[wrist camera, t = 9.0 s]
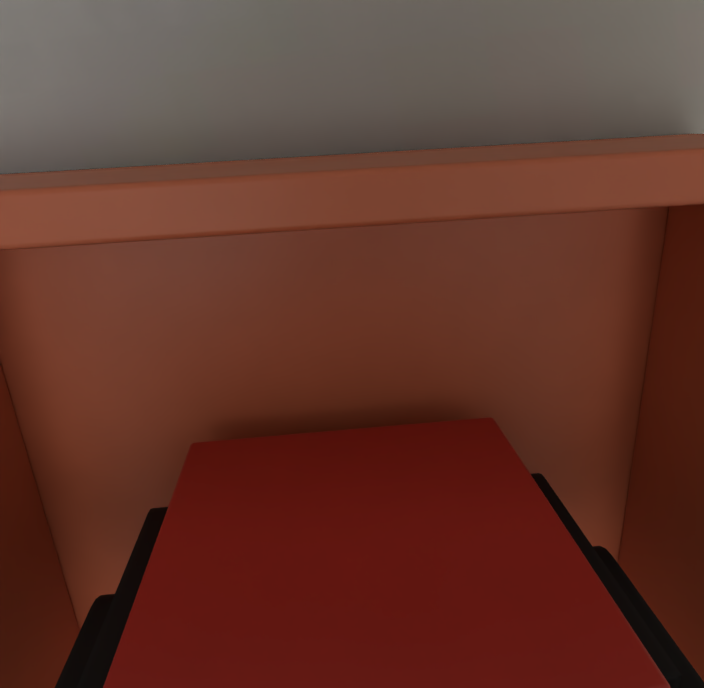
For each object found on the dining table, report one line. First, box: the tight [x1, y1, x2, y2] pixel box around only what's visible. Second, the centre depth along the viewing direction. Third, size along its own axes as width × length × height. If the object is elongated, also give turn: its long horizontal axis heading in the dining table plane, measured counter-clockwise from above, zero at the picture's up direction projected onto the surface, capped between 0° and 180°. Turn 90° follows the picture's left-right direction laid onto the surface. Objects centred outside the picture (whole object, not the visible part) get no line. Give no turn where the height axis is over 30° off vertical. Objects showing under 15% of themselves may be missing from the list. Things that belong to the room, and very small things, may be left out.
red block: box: [103, 417, 671, 688], centre depth 8 cm, size 5×5×5 cm
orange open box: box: [0, 134, 704, 688], centre depth 10 cm, size 13×12×4 cm
